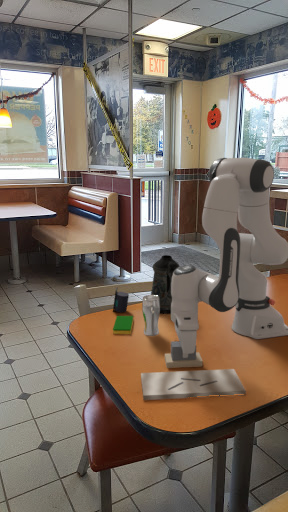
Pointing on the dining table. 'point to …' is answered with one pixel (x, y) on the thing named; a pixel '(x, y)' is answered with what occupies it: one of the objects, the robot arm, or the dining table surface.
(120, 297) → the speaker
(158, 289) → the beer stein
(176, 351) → the block
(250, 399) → the dining table surface
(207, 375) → the marked board
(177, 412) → the dining table surface
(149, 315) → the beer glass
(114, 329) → the dish sponge
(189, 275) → the robot arm
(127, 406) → the dining table surface
